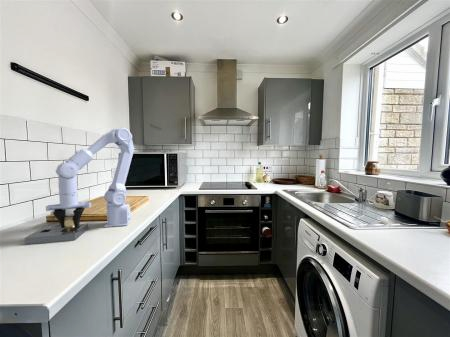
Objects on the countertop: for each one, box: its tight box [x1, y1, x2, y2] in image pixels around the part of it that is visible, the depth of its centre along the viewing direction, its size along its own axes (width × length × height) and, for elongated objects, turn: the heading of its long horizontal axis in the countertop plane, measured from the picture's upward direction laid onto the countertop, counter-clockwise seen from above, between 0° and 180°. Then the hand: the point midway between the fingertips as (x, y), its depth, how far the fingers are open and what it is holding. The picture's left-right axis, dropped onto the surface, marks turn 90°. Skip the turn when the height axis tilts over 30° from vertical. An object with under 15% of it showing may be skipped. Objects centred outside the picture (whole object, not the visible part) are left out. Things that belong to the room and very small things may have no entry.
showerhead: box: [50, 209, 75, 217], centre depth 96 cm, size 9×7×10 cm
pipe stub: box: [63, 213, 77, 232], centre depth 82 cm, size 4×4×6 cm
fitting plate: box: [24, 222, 90, 246], centre depth 82 cm, size 16×12×3 cm
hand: (70, 226), depth 83 cm, fingers closed on pipe stub, 4 cm apart
